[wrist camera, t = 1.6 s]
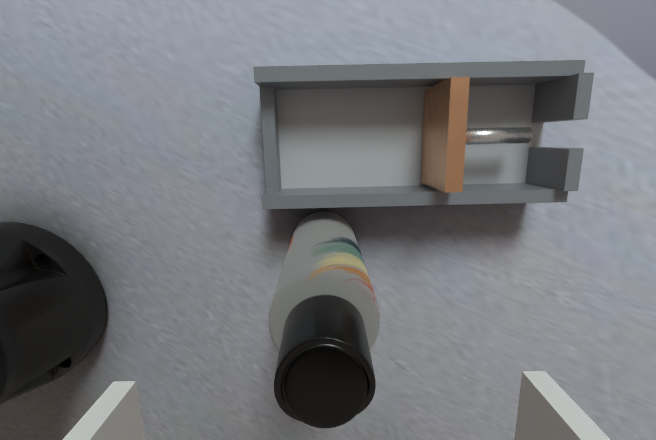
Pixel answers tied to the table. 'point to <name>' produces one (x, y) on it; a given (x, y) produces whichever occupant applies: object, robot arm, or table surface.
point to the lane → (413, 133)
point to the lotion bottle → (324, 325)
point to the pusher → (455, 134)
